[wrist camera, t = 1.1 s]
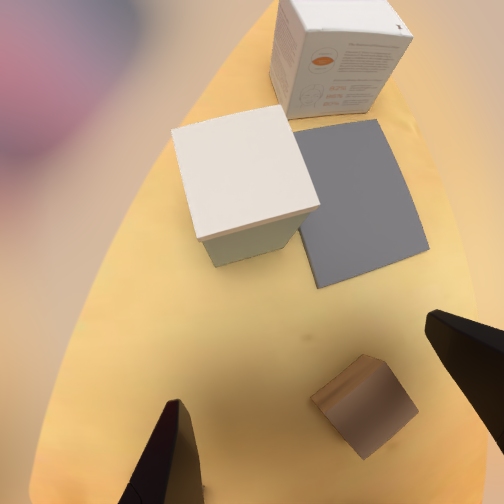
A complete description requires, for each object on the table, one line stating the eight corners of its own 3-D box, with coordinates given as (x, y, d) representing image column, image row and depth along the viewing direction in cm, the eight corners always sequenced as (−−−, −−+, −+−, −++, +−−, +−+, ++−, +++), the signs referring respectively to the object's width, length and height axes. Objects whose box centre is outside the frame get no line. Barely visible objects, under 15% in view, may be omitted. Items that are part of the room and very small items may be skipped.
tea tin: (284, 249, 23) (320, 204, 13) (214, 269, 22) (197, 238, 13) (263, 183, 24) (280, 104, 14) (196, 201, 23) (170, 129, 13)
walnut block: (394, 398, 21) (419, 411, 18) (345, 440, 21) (363, 460, 17) (362, 354, 22) (385, 361, 18) (309, 397, 21) (323, 413, 17)
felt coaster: (426, 250, 23) (429, 249, 23) (317, 288, 23) (319, 288, 22) (373, 122, 25) (376, 119, 25) (267, 141, 24) (268, 137, 24)
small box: (346, 69, 26) (381, -10, 16) (367, 114, 25) (417, 36, 15) (266, 73, 26) (279, -18, 15) (282, 122, 25) (306, 28, 14)
